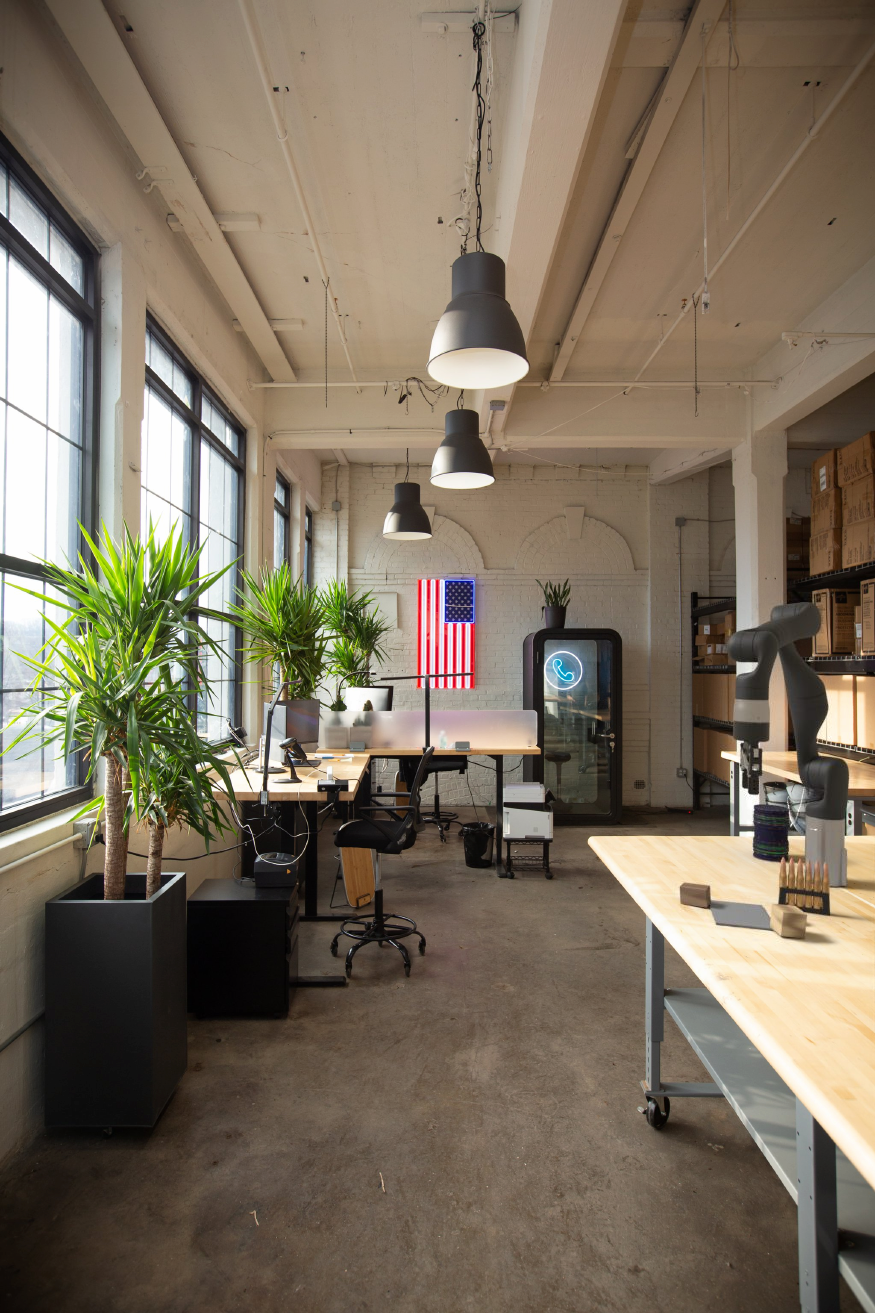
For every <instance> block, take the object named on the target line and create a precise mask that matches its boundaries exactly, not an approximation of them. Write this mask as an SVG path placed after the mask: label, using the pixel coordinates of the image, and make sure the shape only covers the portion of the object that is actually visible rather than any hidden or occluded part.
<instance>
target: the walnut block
mask: <svg viewBox="0 0 875 1313" xmlns="http://www.w3.org/2000/svg"><path fill="white" fill-rule="evenodd" d="M711 895H712V894H711V885H707V884H700V883H693V882H685V881H684V882H682V884H681V885H680V886H679V903H680V904H682V905H687V906H694V907H701V908H708V907H709V904H710V903H711V900H712V898H711Z"/></svg>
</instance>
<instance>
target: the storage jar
mask: <svg viewBox="0 0 875 1313" xmlns="http://www.w3.org/2000/svg"><path fill="white" fill-rule="evenodd" d="M752 817H753V818H752V819H753V821H752V822H753V825H754V826H753V827H754V828H753V830H754V831H753V837H752V851H753V853H752V856H753V858H755V859H757V860H760V861H767V862H771V863H781V860H782V858H783V857H784V858H785V862H788V861H789V860H790V859H789V852H790V842H789V828H790V809H789V808H788V807H787V806H782V805H776V804H764V803H763V804H759V803H757V804H754V805H753V814H752Z"/></svg>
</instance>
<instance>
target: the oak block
mask: <svg viewBox="0 0 875 1313" xmlns="http://www.w3.org/2000/svg"><path fill="white" fill-rule="evenodd" d="M807 920H808V913H805V912H803V911H802V910H800V909H799V908H797V907H796V906H790V905H781V904H778V903H771V912H770V927H771V928H772V929H773V930H774V931H775V933H776V934H778V935H779V936H780V937H787V938H798V939H806V931H807V930H806V929H807ZM774 931H773V932H774Z"/></svg>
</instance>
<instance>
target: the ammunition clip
mask: <svg viewBox="0 0 875 1313" xmlns="http://www.w3.org/2000/svg"><path fill="white" fill-rule="evenodd" d="M794 861H795V860H794V859H793V857H791V858H790V859H789V863H788V864H789V865H788V874H787V863H786V862H787V861H786V862H785V858H784V857H783V858H782V860H781V862H780V869H779V877H778V880H779V881H778V902H777V904H781V905H790V906H796V907H797V908H799V909H800V910H802V911H803V912H804V913H806V914H813V915H821V916H826V917H828V916H829V917H830V916H831V902H830V901H831V900H830V893H831V892H830V890H831V889H830V888H831V886H830V881H829V870H828V864H827V862H825V863H824V867H823V876H822V885H821V878H820V866H819V862H818V861H816V864H815V868H814V878H813V879H812V868H811V863H810V860H808V861H807V865H806V874H805V873H804V865H803V861H802V859H801V858H799V860H798V863H797V871H796V872H795V867H796V866H795V862H794Z"/></svg>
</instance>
